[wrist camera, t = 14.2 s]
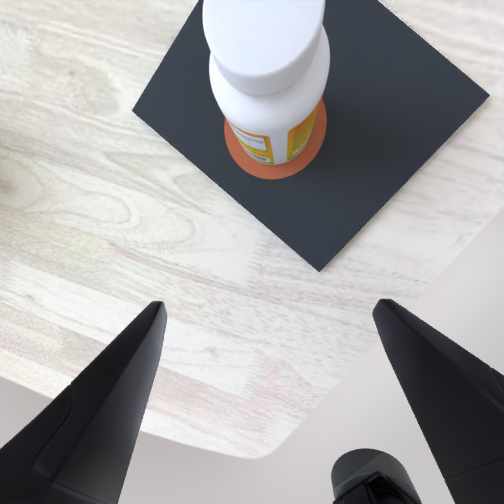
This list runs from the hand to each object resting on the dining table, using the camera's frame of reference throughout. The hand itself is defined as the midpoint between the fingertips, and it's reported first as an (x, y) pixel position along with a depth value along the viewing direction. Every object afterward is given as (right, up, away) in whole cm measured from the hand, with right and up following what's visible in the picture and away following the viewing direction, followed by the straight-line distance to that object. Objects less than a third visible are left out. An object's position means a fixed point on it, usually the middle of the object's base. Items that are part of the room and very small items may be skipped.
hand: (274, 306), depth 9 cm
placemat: (+2, +13, +7) cm, 15 cm away
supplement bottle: (+1, +12, +7) cm, 14 cm away
